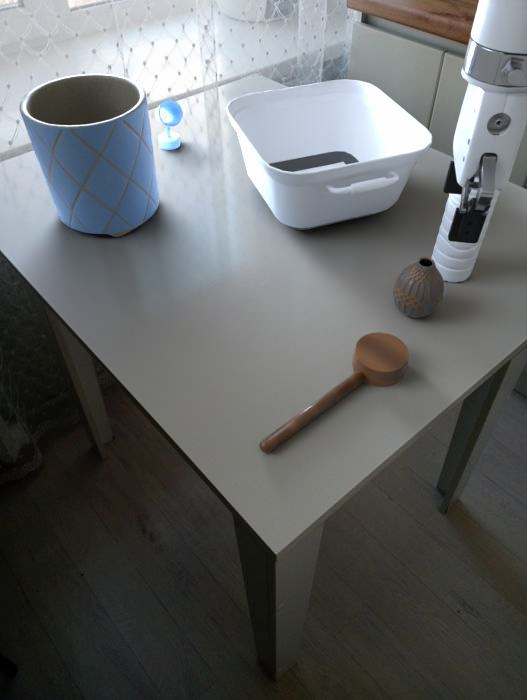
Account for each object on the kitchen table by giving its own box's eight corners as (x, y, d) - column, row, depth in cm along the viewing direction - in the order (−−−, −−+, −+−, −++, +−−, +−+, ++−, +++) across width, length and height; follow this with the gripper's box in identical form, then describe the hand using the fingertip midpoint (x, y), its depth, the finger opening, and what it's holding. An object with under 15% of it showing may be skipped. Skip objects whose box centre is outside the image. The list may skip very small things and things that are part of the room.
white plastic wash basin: (436, 234, 94) (458, 154, 83) (280, 272, 88) (282, 190, 77) (348, 143, 116) (356, 69, 105) (218, 167, 109) (212, 92, 99)
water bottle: (458, 289, 85) (512, 132, 66) (421, 271, 88) (462, 116, 69) (484, 262, 89) (541, 108, 71) (448, 245, 92) (494, 94, 74)
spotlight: (188, 149, 114) (175, 135, 118) (183, 101, 107) (169, 87, 111) (166, 155, 113) (153, 141, 117) (159, 106, 105) (145, 93, 109)
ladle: (376, 339, 78) (379, 324, 76) (415, 368, 74) (419, 353, 72) (242, 434, 67) (241, 420, 65) (280, 473, 64) (281, 459, 62)
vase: (446, 307, 82) (461, 261, 76) (421, 332, 79) (434, 285, 72) (406, 286, 85) (418, 240, 79) (381, 309, 82) (390, 263, 76)
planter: (183, 195, 103) (169, 85, 88) (124, 253, 91) (96, 138, 76) (99, 173, 108) (72, 65, 93) (33, 225, 97) (-9, 112, 82)
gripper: (566, 103, 46) (501, 265, 58) (533, 30, 57) (484, 179, 70) (473, 97, 47) (428, 258, 59) (458, 26, 58) (423, 174, 71)
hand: (458, 215), depth 65 cm, fingers open, 9 cm apart
